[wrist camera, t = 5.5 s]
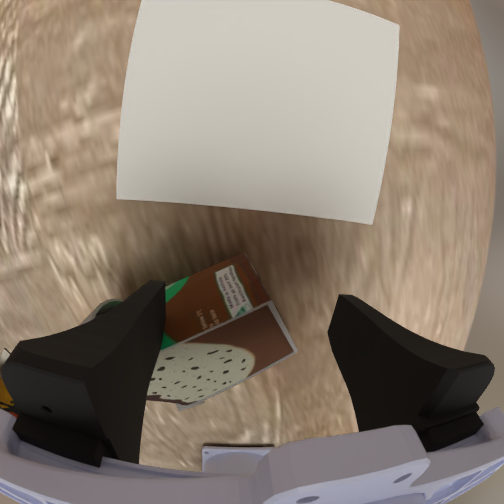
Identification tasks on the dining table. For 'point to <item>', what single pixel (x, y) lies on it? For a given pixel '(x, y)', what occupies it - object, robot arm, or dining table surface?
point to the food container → (214, 333)
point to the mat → (258, 106)
